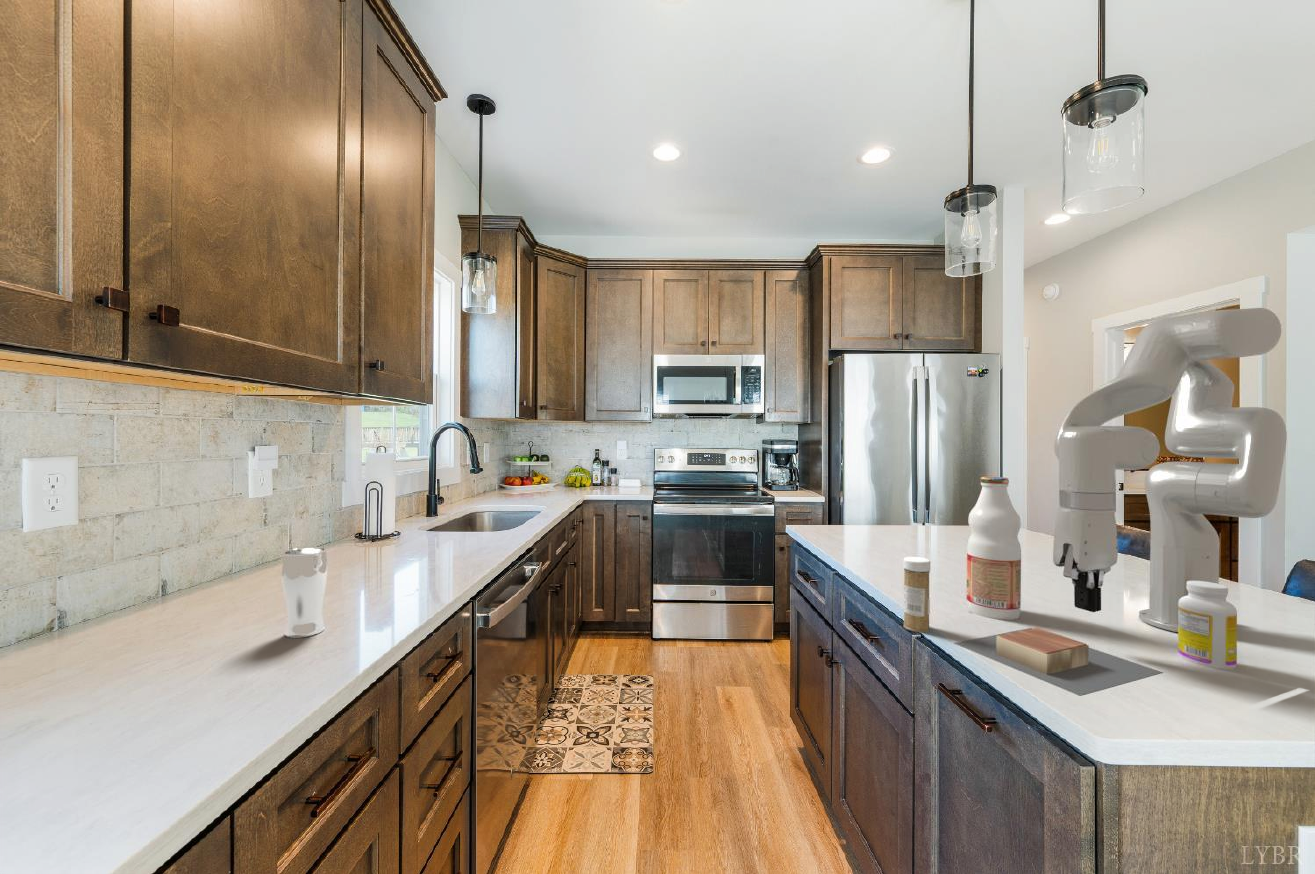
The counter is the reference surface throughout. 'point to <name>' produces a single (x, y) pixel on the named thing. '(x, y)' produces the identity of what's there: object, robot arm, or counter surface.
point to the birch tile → (1042, 650)
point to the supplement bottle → (1207, 626)
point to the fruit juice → (994, 554)
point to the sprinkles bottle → (916, 594)
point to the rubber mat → (1077, 680)
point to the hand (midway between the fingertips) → (1087, 608)
